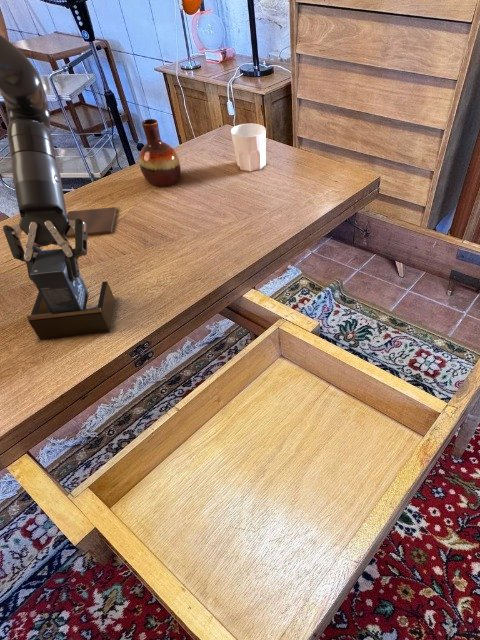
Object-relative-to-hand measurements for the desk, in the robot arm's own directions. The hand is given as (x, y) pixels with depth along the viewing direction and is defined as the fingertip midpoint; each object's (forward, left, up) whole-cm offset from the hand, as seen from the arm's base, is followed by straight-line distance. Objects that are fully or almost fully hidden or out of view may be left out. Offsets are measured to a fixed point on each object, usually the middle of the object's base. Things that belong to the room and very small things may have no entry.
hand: (55, 281), depth 81 cm
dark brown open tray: (0, +2, -10) cm, 10 cm away
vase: (+15, +61, -10) cm, 64 cm away
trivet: (-3, +40, -10) cm, 41 cm away
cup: (+41, +66, -10) cm, 78 cm away
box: (0, +2, -7) cm, 8 cm away
